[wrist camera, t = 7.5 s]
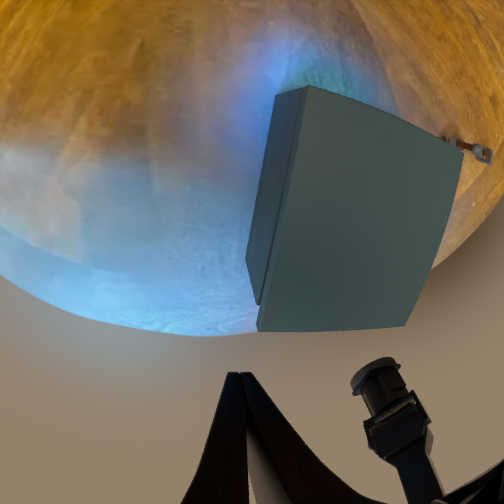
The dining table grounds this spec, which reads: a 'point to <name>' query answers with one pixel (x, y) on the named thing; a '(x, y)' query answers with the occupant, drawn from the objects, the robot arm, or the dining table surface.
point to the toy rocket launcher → (472, 149)
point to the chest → (271, 188)
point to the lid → (356, 218)
